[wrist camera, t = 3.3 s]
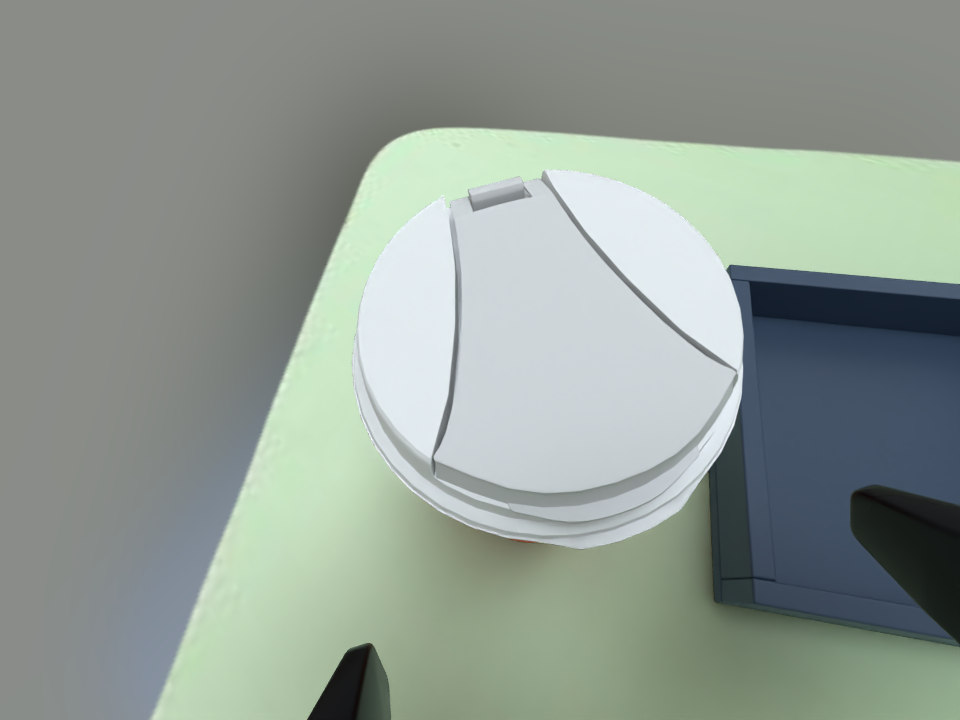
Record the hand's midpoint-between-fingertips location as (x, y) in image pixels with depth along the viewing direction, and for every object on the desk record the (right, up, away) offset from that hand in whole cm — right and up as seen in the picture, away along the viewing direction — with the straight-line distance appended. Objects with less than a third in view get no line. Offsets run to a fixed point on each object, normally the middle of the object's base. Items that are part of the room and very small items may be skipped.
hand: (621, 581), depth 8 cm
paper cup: (0, -1, +13) cm, 13 cm away
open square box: (+14, 0, +12) cm, 19 cm away
